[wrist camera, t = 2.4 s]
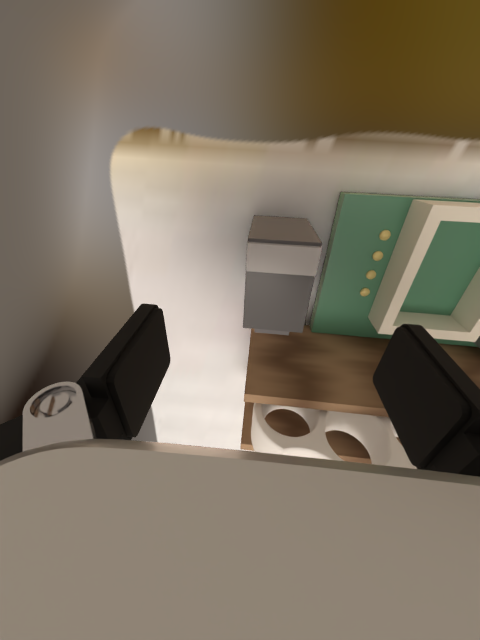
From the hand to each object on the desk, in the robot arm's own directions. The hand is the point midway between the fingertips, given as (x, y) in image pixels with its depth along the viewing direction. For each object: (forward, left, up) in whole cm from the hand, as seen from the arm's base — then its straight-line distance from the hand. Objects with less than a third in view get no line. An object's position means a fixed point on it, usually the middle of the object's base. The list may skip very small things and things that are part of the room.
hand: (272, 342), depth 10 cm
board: (-13, +1, -12) cm, 18 cm away
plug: (0, 0, -12) cm, 12 cm away
